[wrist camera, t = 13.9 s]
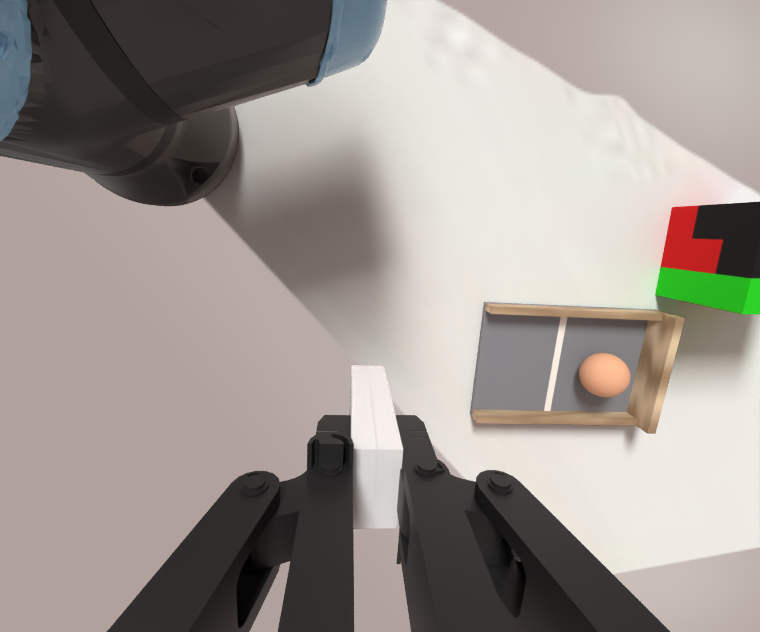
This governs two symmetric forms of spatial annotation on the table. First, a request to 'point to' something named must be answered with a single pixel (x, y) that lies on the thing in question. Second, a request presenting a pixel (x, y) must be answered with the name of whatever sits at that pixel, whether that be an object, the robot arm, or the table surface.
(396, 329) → the table surface
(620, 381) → the ball
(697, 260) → the puzzle toy
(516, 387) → the tray
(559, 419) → the divided wooden tray
